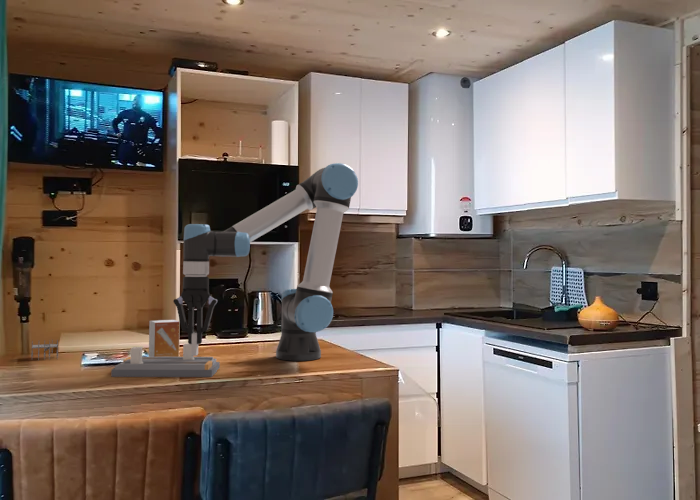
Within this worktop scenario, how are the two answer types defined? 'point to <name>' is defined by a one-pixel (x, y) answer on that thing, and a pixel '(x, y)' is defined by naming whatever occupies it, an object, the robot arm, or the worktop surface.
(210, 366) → the switch board
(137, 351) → the tab
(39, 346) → the building frame
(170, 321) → the small box
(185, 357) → the tab
